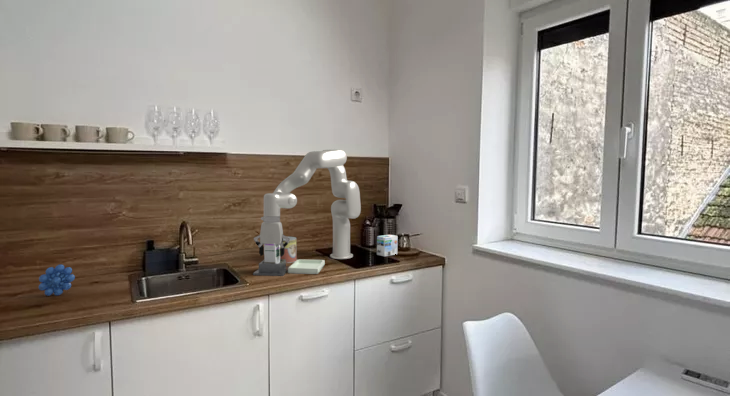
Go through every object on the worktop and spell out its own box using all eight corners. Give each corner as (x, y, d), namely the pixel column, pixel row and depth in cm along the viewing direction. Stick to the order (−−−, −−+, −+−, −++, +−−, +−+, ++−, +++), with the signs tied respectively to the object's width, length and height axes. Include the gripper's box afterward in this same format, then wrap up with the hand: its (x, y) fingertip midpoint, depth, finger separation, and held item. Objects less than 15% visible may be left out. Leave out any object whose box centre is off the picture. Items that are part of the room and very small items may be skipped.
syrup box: (276, 273, 192) (275, 242, 190) (264, 272, 193) (263, 242, 192) (280, 270, 197) (280, 240, 196) (269, 269, 198) (269, 240, 197)
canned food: (286, 264, 210) (286, 241, 209) (270, 261, 216) (270, 238, 215) (301, 260, 220) (301, 237, 219) (285, 257, 226) (285, 235, 225)
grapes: (78, 290, 164) (77, 260, 163) (74, 295, 158) (72, 264, 157) (42, 293, 160) (41, 263, 159) (36, 299, 154) (35, 267, 153)
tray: (297, 264, 210) (297, 259, 210) (324, 264, 209) (324, 259, 209) (288, 273, 192) (288, 268, 192) (317, 274, 191) (317, 268, 191)
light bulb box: (384, 256, 228) (384, 237, 227) (376, 254, 233) (376, 236, 233) (398, 254, 235) (398, 235, 234) (389, 252, 240) (389, 234, 240)
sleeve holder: (263, 267, 202) (263, 257, 202) (291, 268, 201) (290, 258, 201) (253, 275, 189) (252, 264, 188) (283, 276, 187) (282, 265, 187)
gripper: (251, 220, 190) (251, 256, 191) (287, 221, 188) (287, 258, 190) (256, 218, 197) (256, 253, 198) (292, 219, 196) (291, 254, 197)
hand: (271, 255), depth 194 cm, fingers open, 9 cm apart
